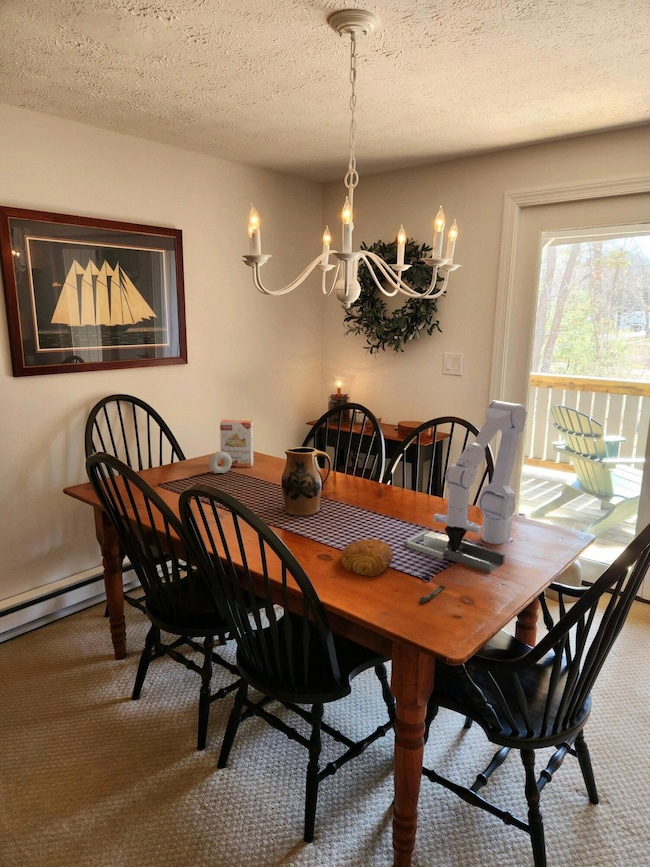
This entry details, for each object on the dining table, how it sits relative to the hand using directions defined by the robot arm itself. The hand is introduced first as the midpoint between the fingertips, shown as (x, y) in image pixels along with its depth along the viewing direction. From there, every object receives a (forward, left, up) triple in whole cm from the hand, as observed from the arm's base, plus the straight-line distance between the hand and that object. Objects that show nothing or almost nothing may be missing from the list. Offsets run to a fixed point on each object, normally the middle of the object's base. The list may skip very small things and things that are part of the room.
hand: (455, 550), depth 164 cm
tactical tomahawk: (+20, +6, -3) cm, 21 cm away
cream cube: (0, -3, -1) cm, 4 cm away
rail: (0, +6, -2) cm, 7 cm away
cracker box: (-16, -121, -2) cm, 122 cm away
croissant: (+22, -15, -2) cm, 27 cm away
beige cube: (0, -7, -2) cm, 8 cm away
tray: (0, -7, -2) cm, 7 cm away
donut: (-3, -116, -2) cm, 116 cm away
